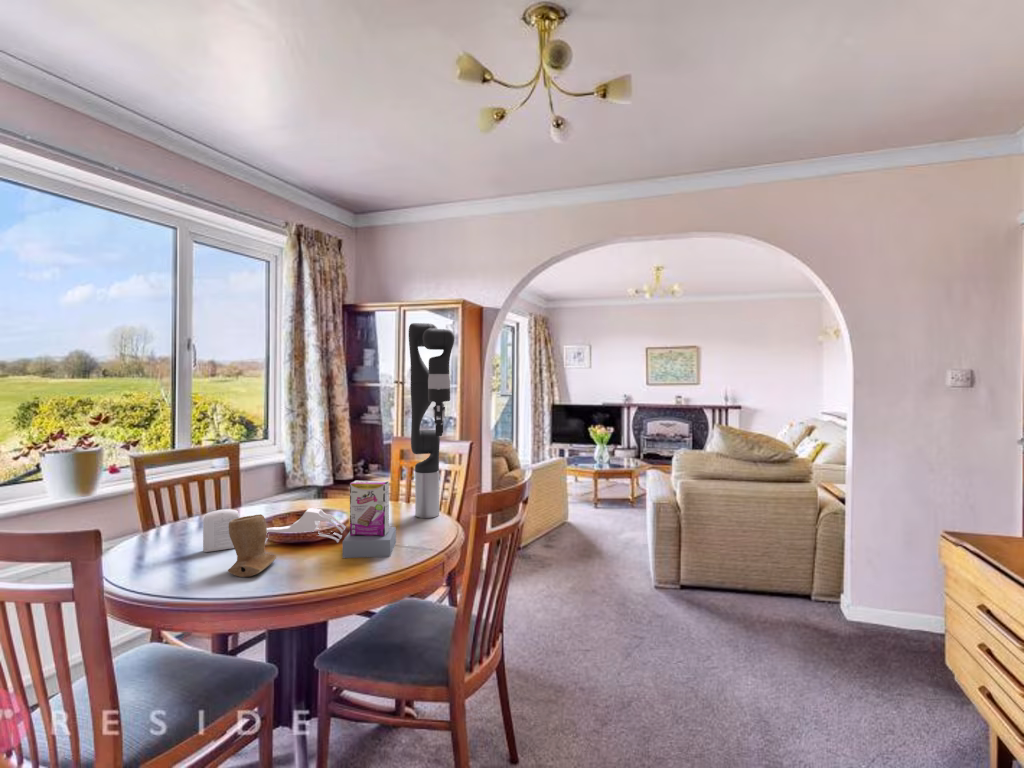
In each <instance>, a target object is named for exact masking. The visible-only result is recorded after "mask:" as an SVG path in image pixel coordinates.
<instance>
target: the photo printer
mask: <svg viewBox="0 0 1024 768" xmlns="http://www.w3.org/2000/svg"><path fill="white" fill-rule="evenodd" d="M236 518H241V517H240V514H239V511H238V510H235V509H229V508H228V509H227V508H224V509H218V510H217V509H216V510H213V511H209V512H208V513H205V514H204V517H203V522H202V525H203V526H202V531H203V532H202V534H203V535H202V551H203V552H204V553H210V552H217V551H222V550H223V551H224V550H229V549H230V550H231V549H235V548H234V546H233V543H232V541H231V538H230V535H229V522H230V521H231V520H233V519H236Z"/></svg>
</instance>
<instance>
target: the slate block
mask: <svg viewBox="0 0 1024 768" xmlns="http://www.w3.org/2000/svg"><path fill="white" fill-rule="evenodd" d="M396 543H397V528H396V526H393V527H392V526H389V532H388V533H387V534H386V535H385V536H350V531H349V532H348V533H347V535H346V536H345V537H344V539H343V540H342V546H341V547H342V559H353V558H355V559H358V558H380V557H381V558H384V557H386V558H387V557H389V556H390V557H391V555H392V553H393V550H394V549H395V546H396Z"/></svg>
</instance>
